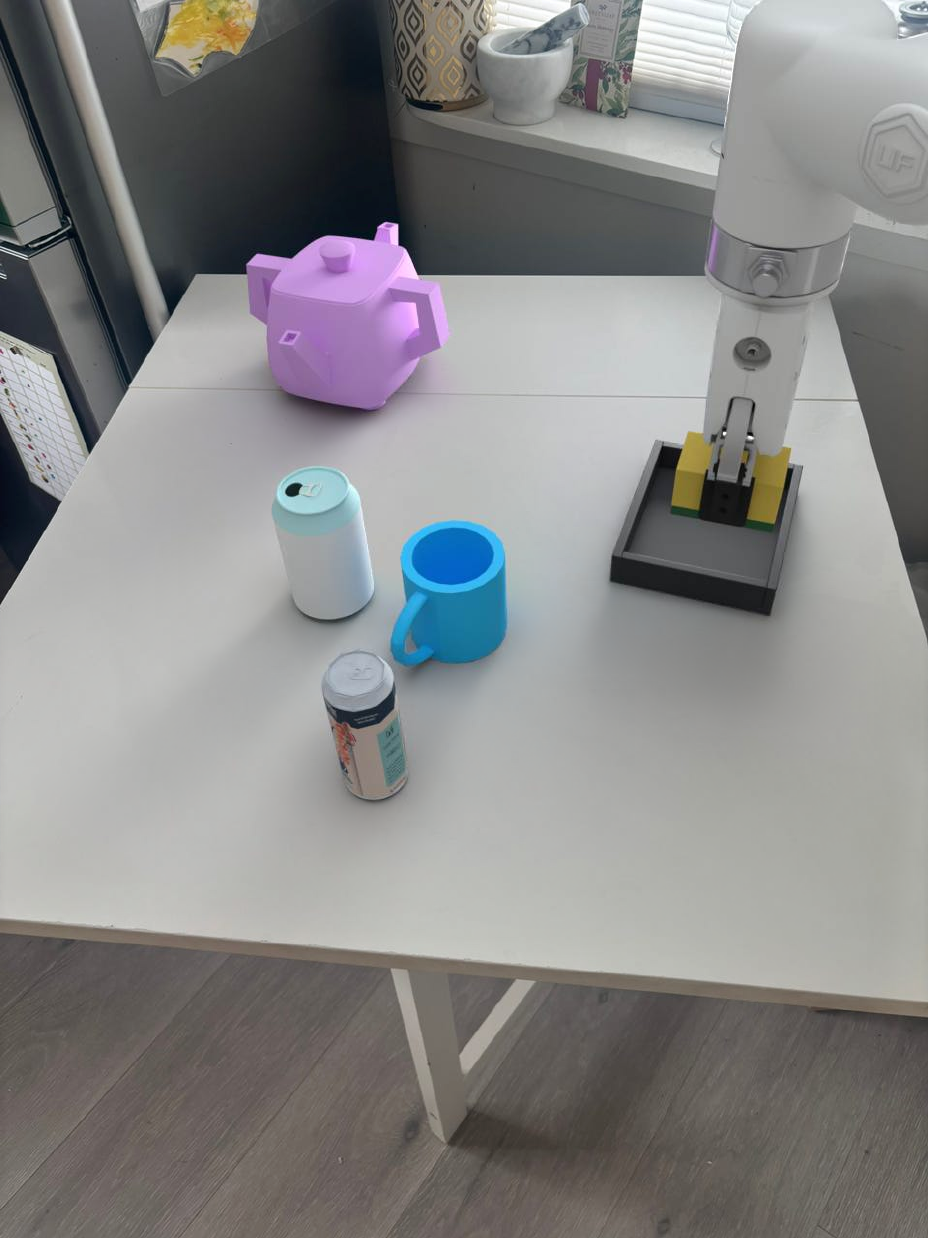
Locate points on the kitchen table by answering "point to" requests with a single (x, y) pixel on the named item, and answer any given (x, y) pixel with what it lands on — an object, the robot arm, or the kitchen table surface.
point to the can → (323, 542)
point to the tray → (699, 544)
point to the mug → (451, 594)
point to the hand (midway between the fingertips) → (728, 494)
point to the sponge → (765, 468)
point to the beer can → (365, 724)
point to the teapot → (346, 317)
